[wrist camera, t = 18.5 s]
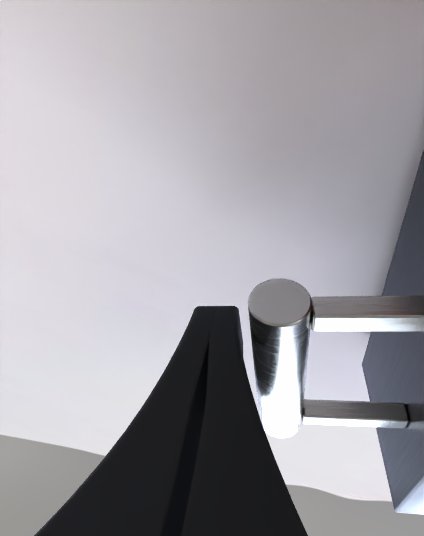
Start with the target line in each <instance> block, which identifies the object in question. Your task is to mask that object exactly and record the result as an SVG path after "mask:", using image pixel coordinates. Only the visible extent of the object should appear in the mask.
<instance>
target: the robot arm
mask: <svg viewBox="0 0 424 536" xmlns="http://www.w3.org/2000/svg"><path fill="white" fill-rule="evenodd" d="M34 536H308V535H307V533H306V531H305V528H304V526H303V524H302V522H301V519H300V517H299V515H298V513H297V510H296V508H295V506H294V504H293V502H292V499H291V497H290V494H289V492H288V489H287V487H286V485H285V482H284V480H283V477H282V475H281V473H280V470H279V468H278V465H277V463H276V460H275V458H274V455H273V453H272V450H271V447H270V445H269V442H268V439H267V437H266V434H265V431H264V428H263V425H262V422H261V420H260V417H259V414H258V410H257V407H256V404H255V401H254V398H253V394H252V391H251V388H250V384H249V380H248V377H247V372H246V368H245V364H244V360H243V340H242V332H241V324H240V317H239V309H238V308H237V307H235V306H198V307H196V308H195V309H194V312H193V314H192V317H191V319H190V321H189V324H188V326H187V328H186V330H185V332H184V335H183V337H182V339H181V341H180V343H179V345H178V347H177V349H176V350H175V352H174V354H173V356H172V358H171V360H170V362H169V363H168V365H167V367H166V369H165V371H164V372H163V374H162V376H161V377H160V379H159V381H158V382H157V384H156V386H155V387H154V389H153V391H152V392H151V394H150V396H149V397H148V399H147V400H146V402H145V403H144V405H143V406H142V408H141V409H140V411H139V412H138V414H137V415H136V417H135V418H134V419H133V421H132V422H131V424H130V425H129V426H128V428H127V429H126V431H125V432H124V433H123V435H122V436H121V437H120V438H119V440H118V441H117V442H116V444H115V445H114V446H113V448H112V449H111V450H110V452H109V453H108V454H107V455H106V457H105V458H104V459H103V460H102V461H101V463H100V464H99V465H98V466H97V468H96V469H95V470H94V471H93V472H92V473H91V475H90V476H89V477H88V478H87V479H86V480H85V481H84V483H83V484H82V485H81V486H80V487H79V488H78V490H77V491H76V492H75V493H74V494H73V495H72V496H71V498H70V499H69V500H68V501H67V502H66V503H65V504H64V505H63V506H62V507H61V509H59V511H58V512H57V513H56V514H55V515H54V516H53V517H52V518H51V519H50V520H49V521H48V522H47V523H46V524H45V525H44V526H43V527H42V528H41V529H40V530H39V531H38V532H37V533H36V534H35V535H34Z"/></svg>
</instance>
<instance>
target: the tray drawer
mask: <svg viewBox="0 0 424 536" xmlns="http://www.w3.org/2000/svg"><path fill="white" fill-rule="evenodd" d="M248 309H249V319H250V329H251V339H252V349H253V359H254V369H255V379H256V389H257V399H258V410H259V417H260V420H261V422H262V425H263V428H264V430H265V431H266V432H267V433H268V434H270V435H271V436H274V437H277V438H288V437H290V436H292V435H294V434H295V433H296V432H297V431H298V430H299V428H300V426H301V422H302V421H303V423H304V424H316V425H339V426H361V427H376V429H377V434H378V438H379V443H380V447H381V452H382V456H383V461H384V465H385V470H386V474H387V479H388V483H389V487H390V492H391V496H392V501H393V505H394V509H395V511H396V512H398V513H410V514H422V515H424V150H423V154H422V157H421V161H420V164H419V168H418V171H417V175H416V178H415V182H414V185H413V189H412V192H411V196H410V199H409V203H408V206H407V210H406V213H405V216H404V220H403V223H402V227H401V230H400V234H399V237H398V241H397V244H396V248H395V251H394V255H393V258H392V262H391V265H390V269H389V272H388V276H387V279H386V283H385V286H384V289H383V293H382V296H342V297H312V298H311V296H310V294H309V293H308V291H307V290H306V289H305V288H304V287H303V286H302V285H300V284H299V283H297V282H294V281H292V280H288V279H271V280H267V281H265V282H262V283H260V284H259V285H257V286H256V287H255V288H254V289H253V291H252V292H251V294H250V296H249V299H248ZM310 323H311V329H312V330H313V331H315V332H371V335H370V338H369V342H368V345H367V349H366V352H365V356H364V359H363V363H362V367H363V371H364V376H365V380H366V385H367V389H368V394H369V398H370V402H365V401H335V400H305V399H304V390H305V379H306V368H307V357H308V346H309V335H310Z"/></svg>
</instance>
